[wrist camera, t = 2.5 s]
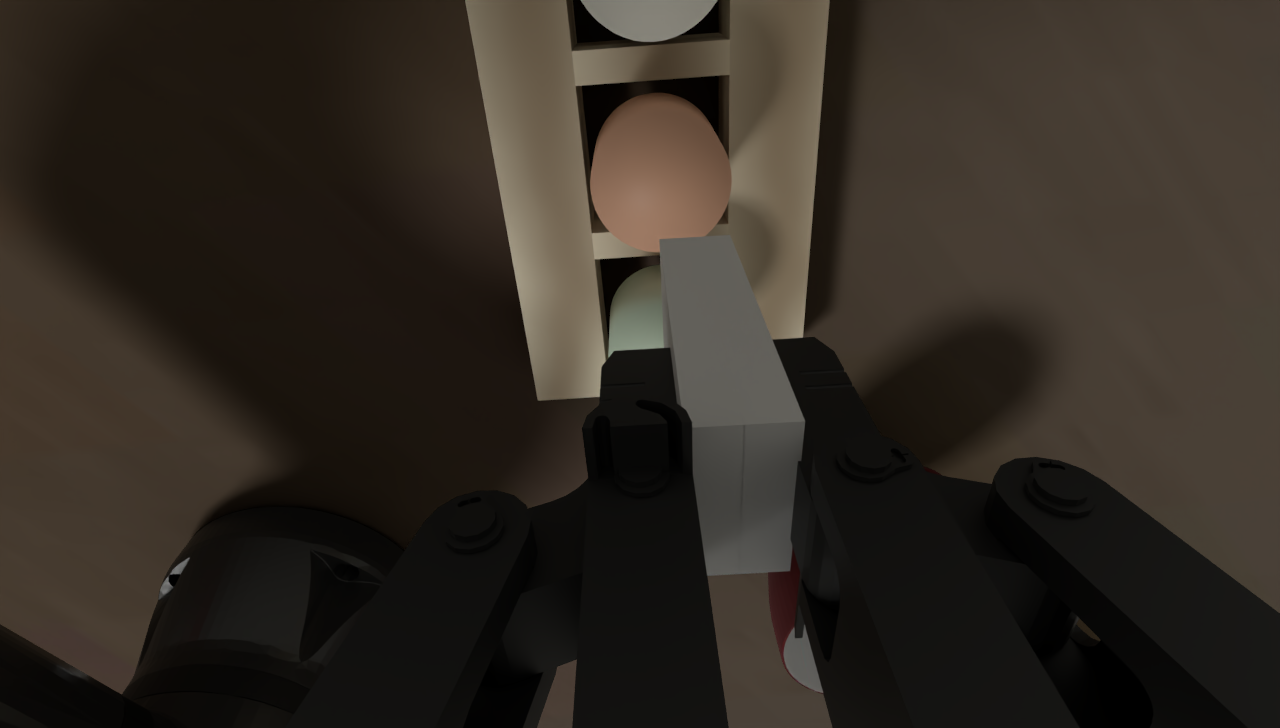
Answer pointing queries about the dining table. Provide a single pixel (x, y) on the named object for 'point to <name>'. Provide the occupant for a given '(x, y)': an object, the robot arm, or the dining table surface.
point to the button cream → (648, 17)
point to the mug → (783, 619)
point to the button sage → (637, 312)
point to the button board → (560, 170)
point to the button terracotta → (659, 172)
